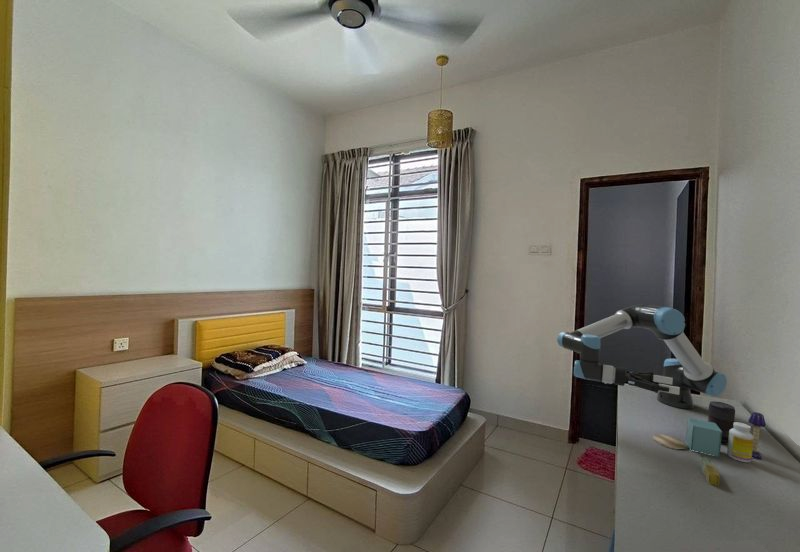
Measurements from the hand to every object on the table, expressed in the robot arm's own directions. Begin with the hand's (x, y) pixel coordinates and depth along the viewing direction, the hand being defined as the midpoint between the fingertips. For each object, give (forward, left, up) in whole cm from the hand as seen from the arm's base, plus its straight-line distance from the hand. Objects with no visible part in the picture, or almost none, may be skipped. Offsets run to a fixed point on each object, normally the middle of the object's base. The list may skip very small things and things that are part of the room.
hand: (675, 386), depth 143 cm
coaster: (+1, 0, -23) cm, 23 cm away
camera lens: (-20, +11, -23) cm, 33 cm away
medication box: (+17, +15, -23) cm, 33 cm away
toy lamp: (-15, +22, -23) cm, 35 cm away
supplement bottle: (-8, +19, -23) cm, 31 cm away
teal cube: (-4, +9, -23) cm, 25 cm away
